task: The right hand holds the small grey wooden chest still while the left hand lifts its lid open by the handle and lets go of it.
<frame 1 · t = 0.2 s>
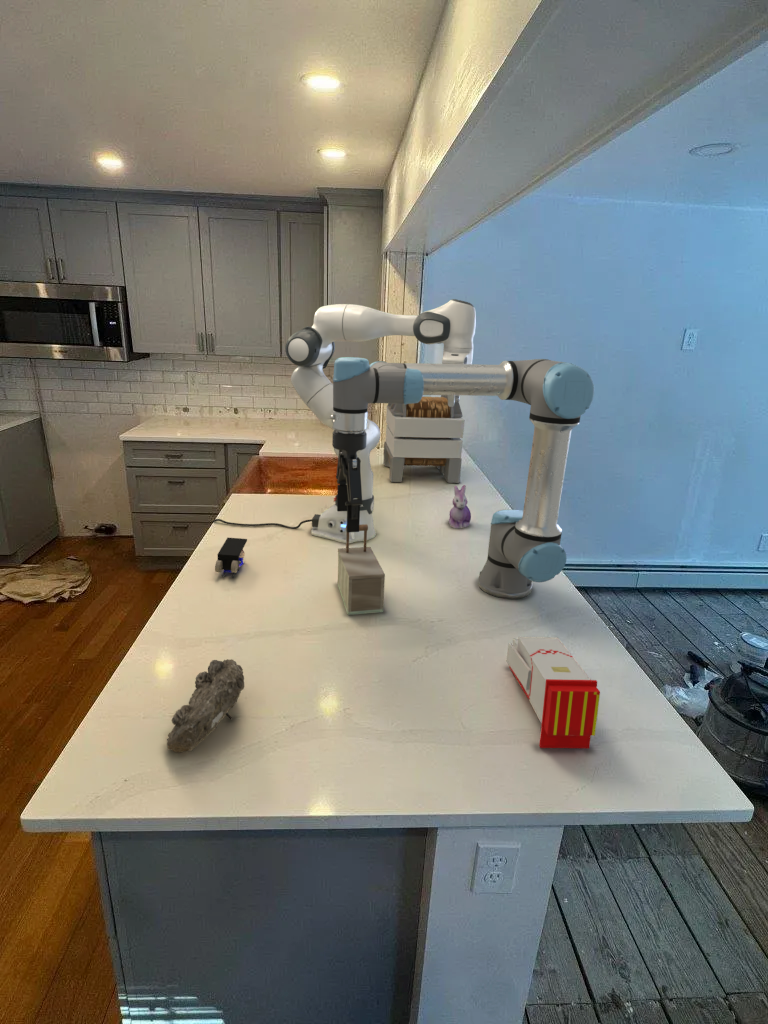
left hand: (453, 404, 174), 48 cm above the counter, tool pointing down, fingers open, 8 cm apart
right hand: (347, 520, 132), 28 cm above the counter, tool pointing down, fingers open, 13 cm apart
fossil: (212, 717, 108), on the counter
chest: (359, 597, 155), on the counter
toy: (542, 700, 117), on the counter
figurine character: (232, 569, 168), on the counter
transformer: (419, 473, 275), on the counter
lid: (360, 548, 150), point 14 cm above the counter, hinge at 0.0°
figurine: (459, 524, 211), on the counter
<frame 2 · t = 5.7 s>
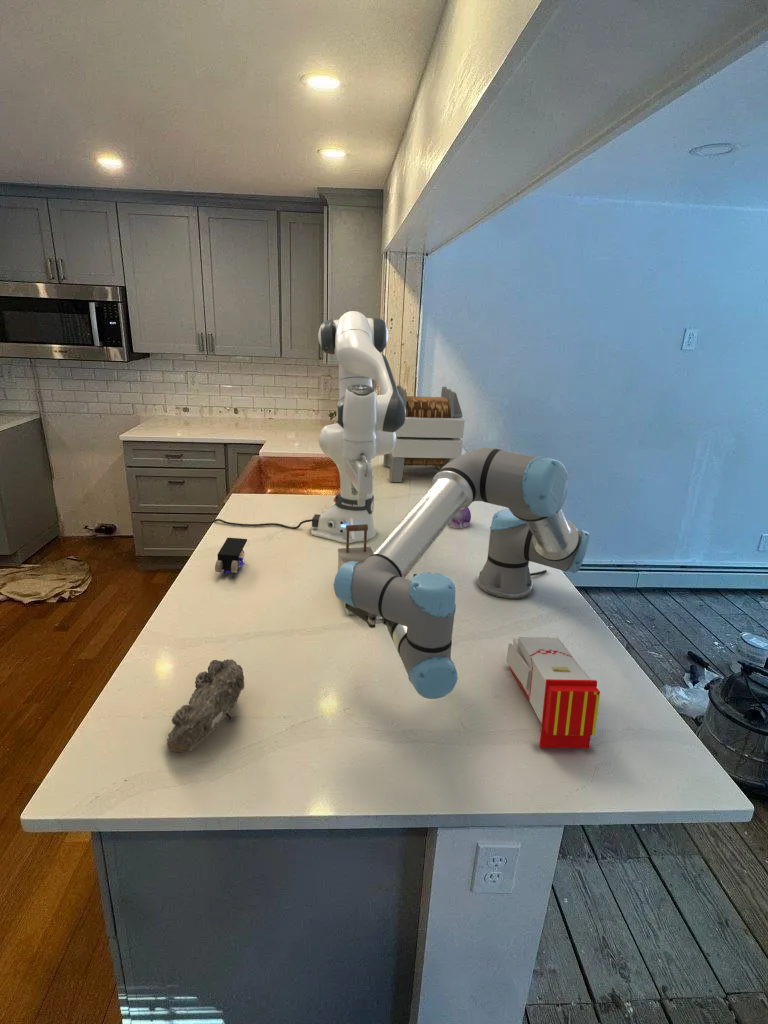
left hand: (357, 499, 152), 26 cm above the counter, tool pointing down, fingers open, 8 cm apart
right hand: (384, 581, 124), 18 cm above the counter, tool horizontal, fingers open, 13 cm apart
nothing on the counter moved.
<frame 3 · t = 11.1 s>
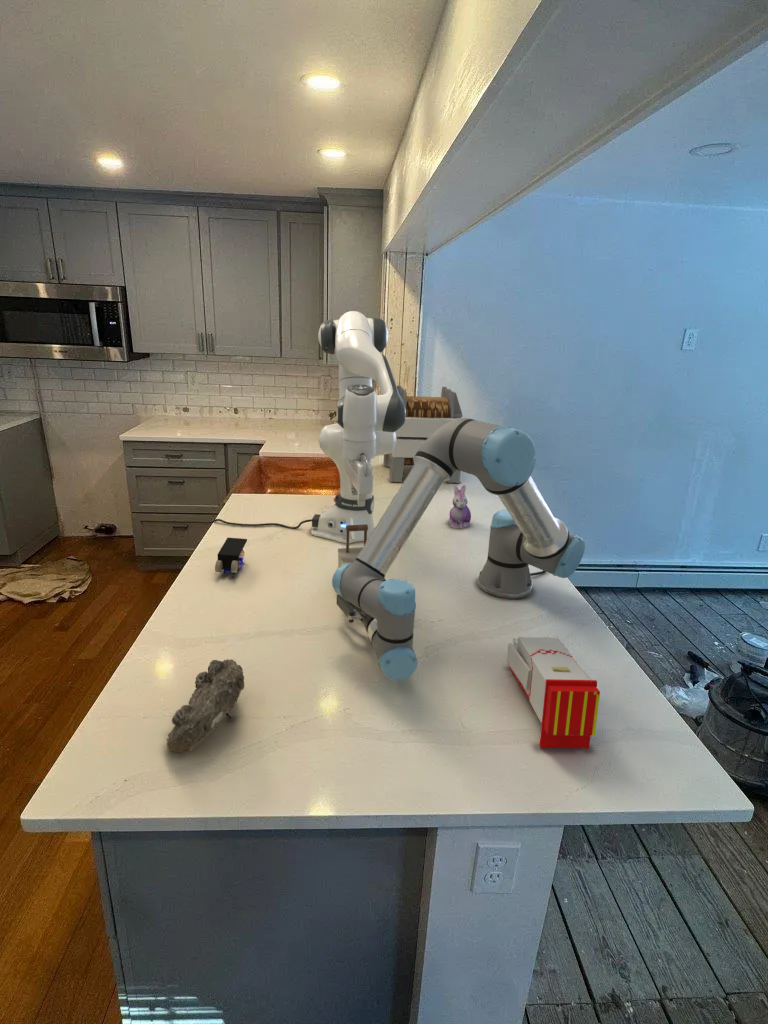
left hand: (357, 499, 152), 26 cm above the counter, tool pointing down, fingers open, 8 cm apart
right hand: (363, 583, 148), 7 cm above the counter, tool horizontal, fingers closed on chest, 9 cm apart
chest: (359, 597, 155), on the counter, touching right hand
everything else where it was.
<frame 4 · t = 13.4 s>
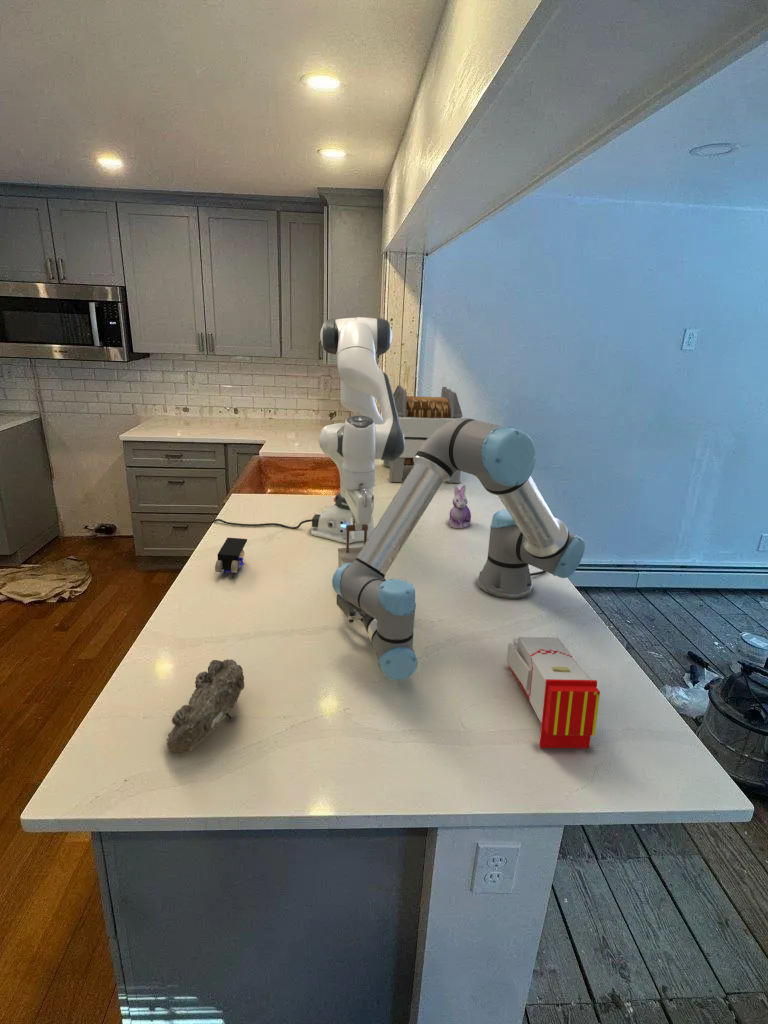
left hand: (356, 527, 155), 18 cm above the counter, tool pointing down, fingers closed on lid, 2 cm apart
right hand: (363, 582, 148), 7 cm above the counter, tool horizontal, fingers closed on chest, 9 cm apart
chest: (359, 597, 155), on the counter, touching right hand
lid: (360, 548, 150), point 15 cm above the counter, hinge at 0.2°, touching left hand
everything else where it was.
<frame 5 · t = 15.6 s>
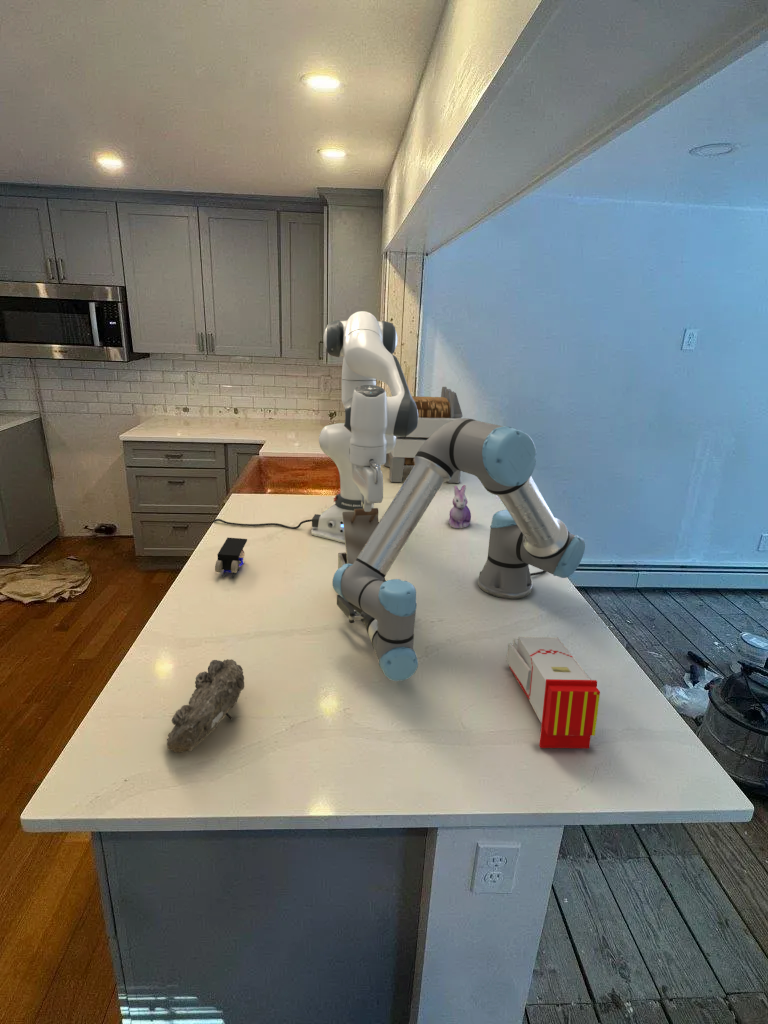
left hand: (366, 509, 141), 27 cm above the counter, tool pointing down, fingers closed, pressing on lid
right hand: (363, 583, 148), 7 cm above the counter, tool horizontal, fingers closed on chest, 9 cm apart
chest: (359, 598, 155), on the counter, touching right hand
lid: (366, 539, 143), point 20 cm above the counter, hinge at 49.9°, touching left hand
everything else where it was.
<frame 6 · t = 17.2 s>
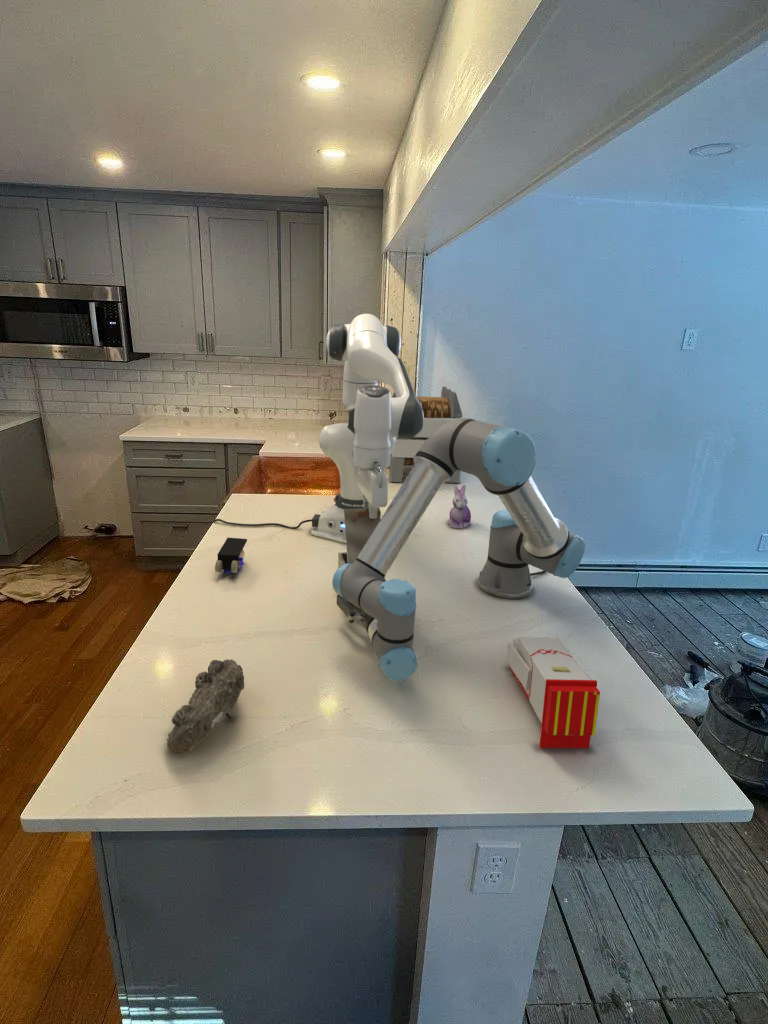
left hand: (369, 513, 137), 28 cm above the counter, tool pointing down, fingers open, 5 cm apart
right hand: (363, 583, 148), 7 cm above the counter, tool horizontal, fingers closed on chest, 9 cm apart
chest: (359, 597, 155), on the counter, touching right hand
lid: (367, 540, 141), point 20 cm above the counter, hinge at 58.6°, touching left hand
everything else where it was.
when the right hand's fingers open (7 cm above the counter, at t = 20.7 s): chest stays where it is, on the counter.
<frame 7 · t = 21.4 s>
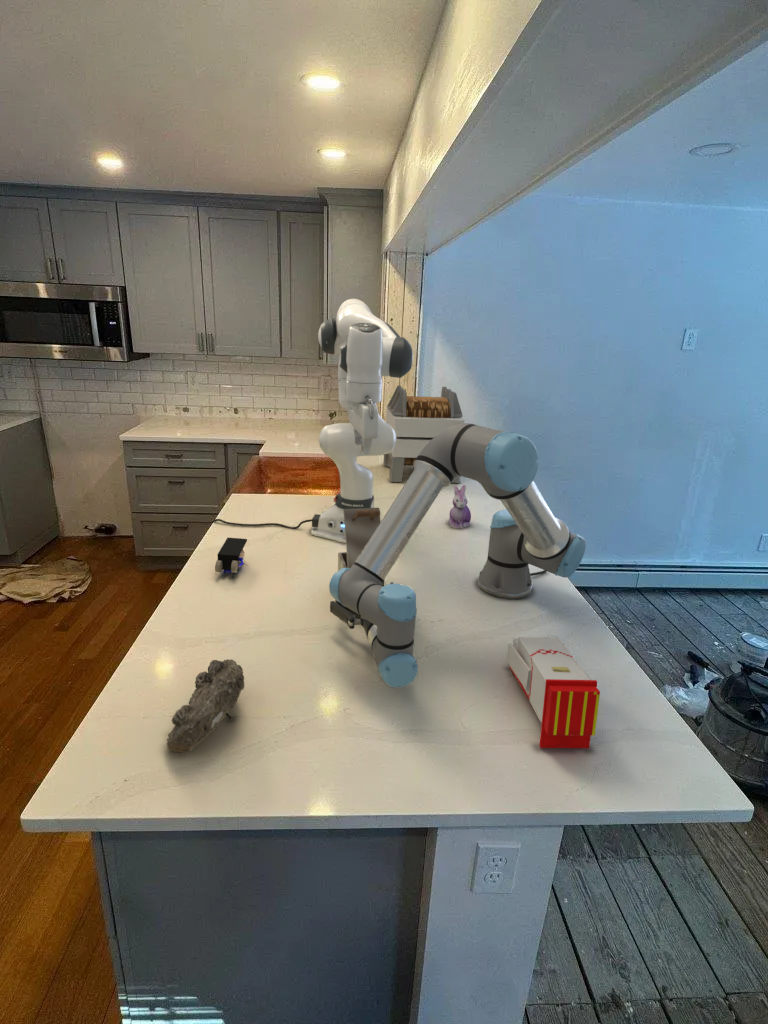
left hand: (362, 448, 143), 41 cm above the counter, tool pointing down, fingers open, 8 cm apart
right hand: (365, 588, 145), 7 cm above the counter, tool horizontal, fingers open, 13 cm apart
chest: (359, 597, 155), on the counter
lid: (367, 539, 141), point 20 cm above the counter, hinge at 57.9°
everything else where it was.
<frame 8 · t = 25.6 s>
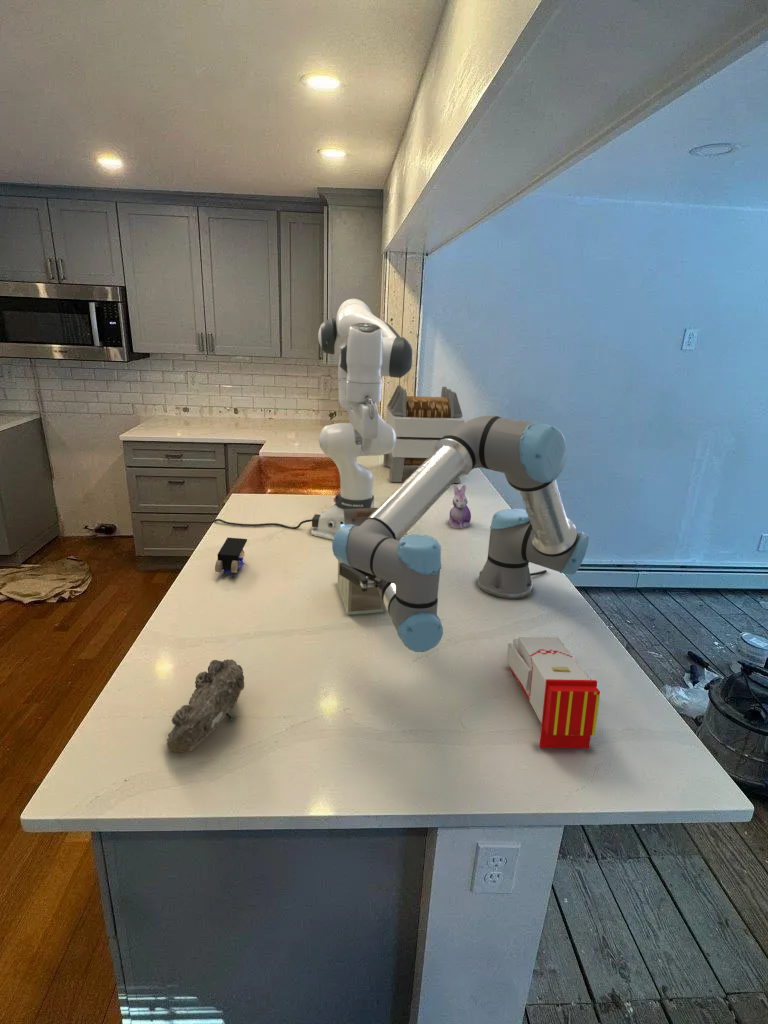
left hand: (362, 448, 143), 41 cm above the counter, tool pointing down, fingers open, 8 cm apart
right hand: (377, 551, 130), 22 cm above the counter, tool horizontal, fingers open, 13 cm apart
nothing on the counter moved.
at the end: lid at +58° (first picture: +0°); the left hand is holding nothing; the right hand is holding nothing; chest tilted 0°; chest never tilted more than 1° during the clip; chest moved 0.0 cm from its start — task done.
